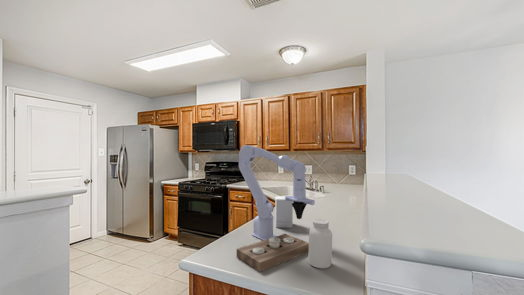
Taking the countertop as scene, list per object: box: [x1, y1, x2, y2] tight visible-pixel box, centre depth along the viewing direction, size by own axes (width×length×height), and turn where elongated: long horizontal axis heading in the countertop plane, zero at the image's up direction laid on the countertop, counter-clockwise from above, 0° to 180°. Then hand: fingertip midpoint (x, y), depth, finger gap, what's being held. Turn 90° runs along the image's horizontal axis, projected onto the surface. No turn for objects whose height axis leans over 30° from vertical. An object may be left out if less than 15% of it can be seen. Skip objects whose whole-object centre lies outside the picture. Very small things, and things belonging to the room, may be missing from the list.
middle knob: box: [269, 237, 280, 250], centre depth 89 cm, size 4×4×3 cm
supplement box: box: [274, 195, 294, 229], centre depth 124 cm, size 9×9×15 cm
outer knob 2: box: [283, 238, 294, 244], centre depth 94 cm, size 4×4×3 cm
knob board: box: [236, 233, 309, 273], centre depth 89 cm, size 14×26×3 cm, turn 129°
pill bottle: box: [307, 218, 333, 269], centre depth 81 cm, size 8×8×15 cm
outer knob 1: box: [253, 248, 264, 256], centre depth 84 cm, size 4×4×3 cm
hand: (299, 218), depth 104 cm, fingers closed
